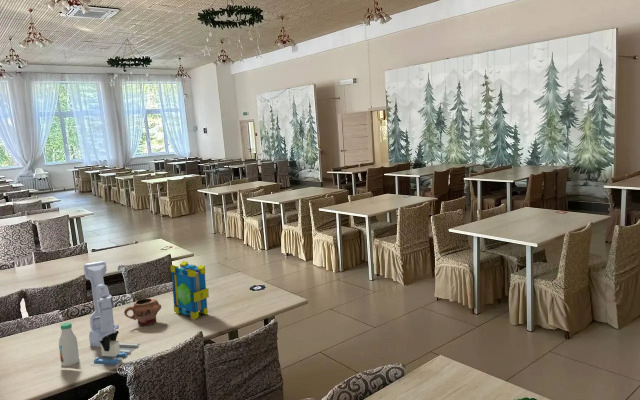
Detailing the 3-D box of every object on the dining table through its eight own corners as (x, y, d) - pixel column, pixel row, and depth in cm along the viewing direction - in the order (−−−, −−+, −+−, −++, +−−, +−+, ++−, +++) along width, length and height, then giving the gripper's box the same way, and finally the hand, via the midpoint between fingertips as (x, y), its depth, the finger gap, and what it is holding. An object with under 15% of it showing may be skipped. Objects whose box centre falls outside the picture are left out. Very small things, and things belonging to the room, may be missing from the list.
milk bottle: (82, 359, 233) (78, 320, 230) (74, 367, 226) (70, 327, 223) (66, 360, 233) (61, 321, 230) (58, 368, 225) (53, 327, 222)
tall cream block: (101, 355, 229) (100, 343, 228) (106, 351, 233) (105, 340, 232) (115, 356, 228) (114, 344, 227) (119, 352, 232) (118, 341, 231)
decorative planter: (128, 332, 263) (126, 308, 261) (123, 325, 273) (121, 302, 271) (165, 323, 275) (163, 299, 273) (158, 316, 285) (156, 294, 283)
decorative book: (193, 321, 276) (189, 271, 271) (169, 313, 290) (165, 265, 285) (212, 313, 287) (209, 265, 282) (188, 305, 301) (185, 259, 296)
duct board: (90, 367, 225) (89, 361, 225) (119, 344, 249) (119, 339, 248) (113, 368, 223) (113, 363, 223) (141, 345, 247) (140, 340, 246)
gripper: (105, 328, 220) (108, 356, 222) (123, 316, 234) (125, 342, 236) (91, 327, 221) (94, 355, 224) (110, 315, 236) (112, 341, 238)
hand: (109, 348), depth 230 cm, fingers closed on tall cream block, 4 cm apart
